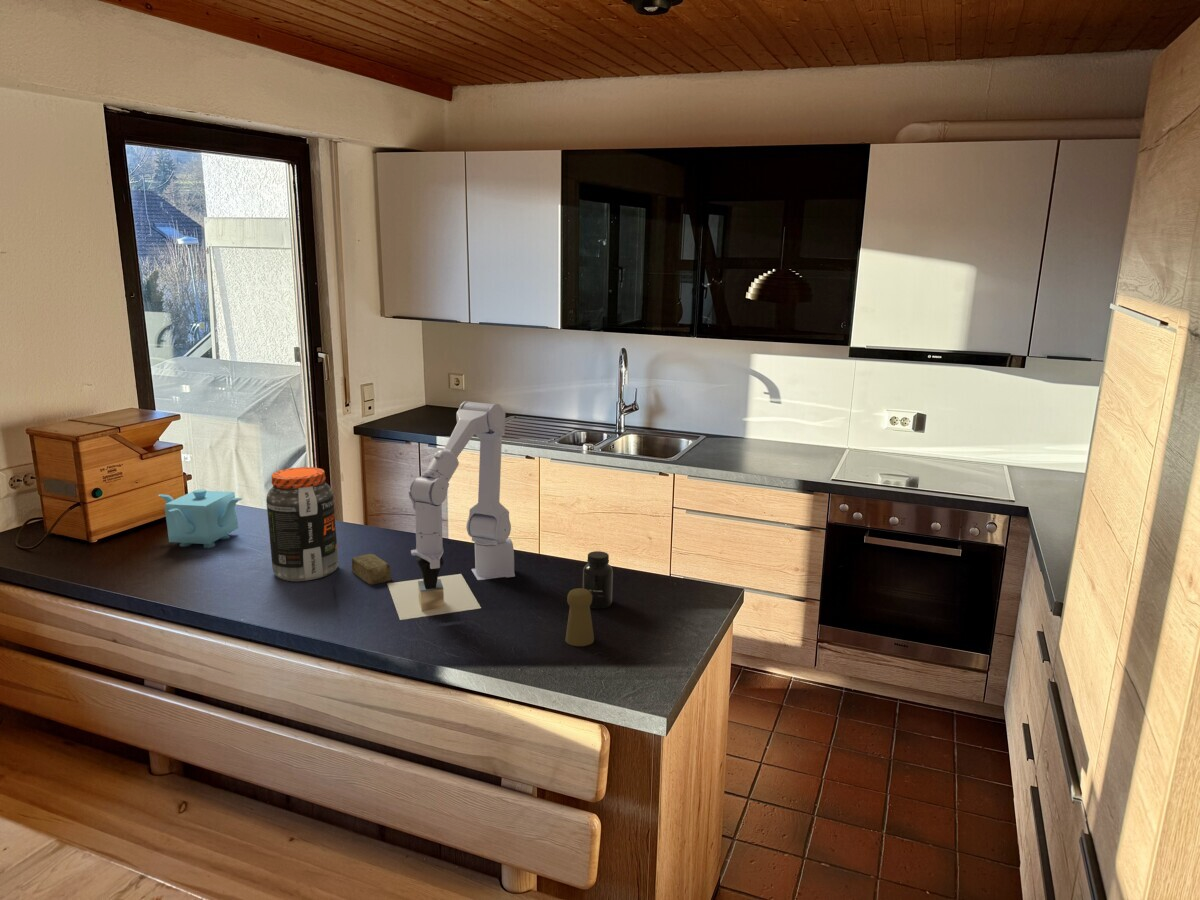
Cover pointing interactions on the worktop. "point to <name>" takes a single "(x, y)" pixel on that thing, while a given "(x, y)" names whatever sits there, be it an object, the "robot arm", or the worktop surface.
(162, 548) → the worktop surface
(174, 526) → the teakettle
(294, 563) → the supplement tub
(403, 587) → the mat
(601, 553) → the supplement bottle
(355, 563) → the stone block
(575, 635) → the wooden peg doll
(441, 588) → the cube
